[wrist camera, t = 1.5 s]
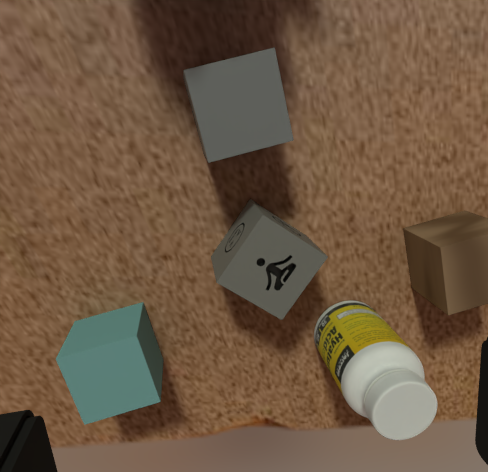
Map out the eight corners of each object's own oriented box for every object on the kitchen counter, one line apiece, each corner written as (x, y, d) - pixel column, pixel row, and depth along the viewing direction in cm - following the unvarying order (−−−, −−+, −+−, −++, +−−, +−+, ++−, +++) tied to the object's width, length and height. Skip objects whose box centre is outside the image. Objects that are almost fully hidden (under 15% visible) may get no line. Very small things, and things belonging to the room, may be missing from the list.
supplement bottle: (311, 301, 33) (363, 376, 24) (379, 295, 34) (455, 365, 24) (311, 364, 34) (360, 456, 25) (376, 356, 35) (446, 444, 26)
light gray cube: (258, 58, 28) (274, 47, 23) (275, 136, 29) (293, 140, 25) (183, 77, 27) (183, 69, 23) (203, 154, 29) (208, 162, 24)
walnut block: (464, 210, 33) (512, 226, 28) (470, 269, 34) (516, 294, 29) (402, 228, 32) (440, 247, 28) (410, 287, 34) (448, 315, 29)
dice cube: (266, 289, 32) (281, 320, 28) (210, 256, 31) (216, 282, 26) (305, 235, 32) (327, 256, 27) (249, 198, 30) (262, 214, 25)
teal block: (143, 301, 31) (136, 335, 26) (163, 359, 33) (160, 401, 28) (75, 321, 31) (55, 359, 26) (98, 378, 32) (84, 424, 28)
